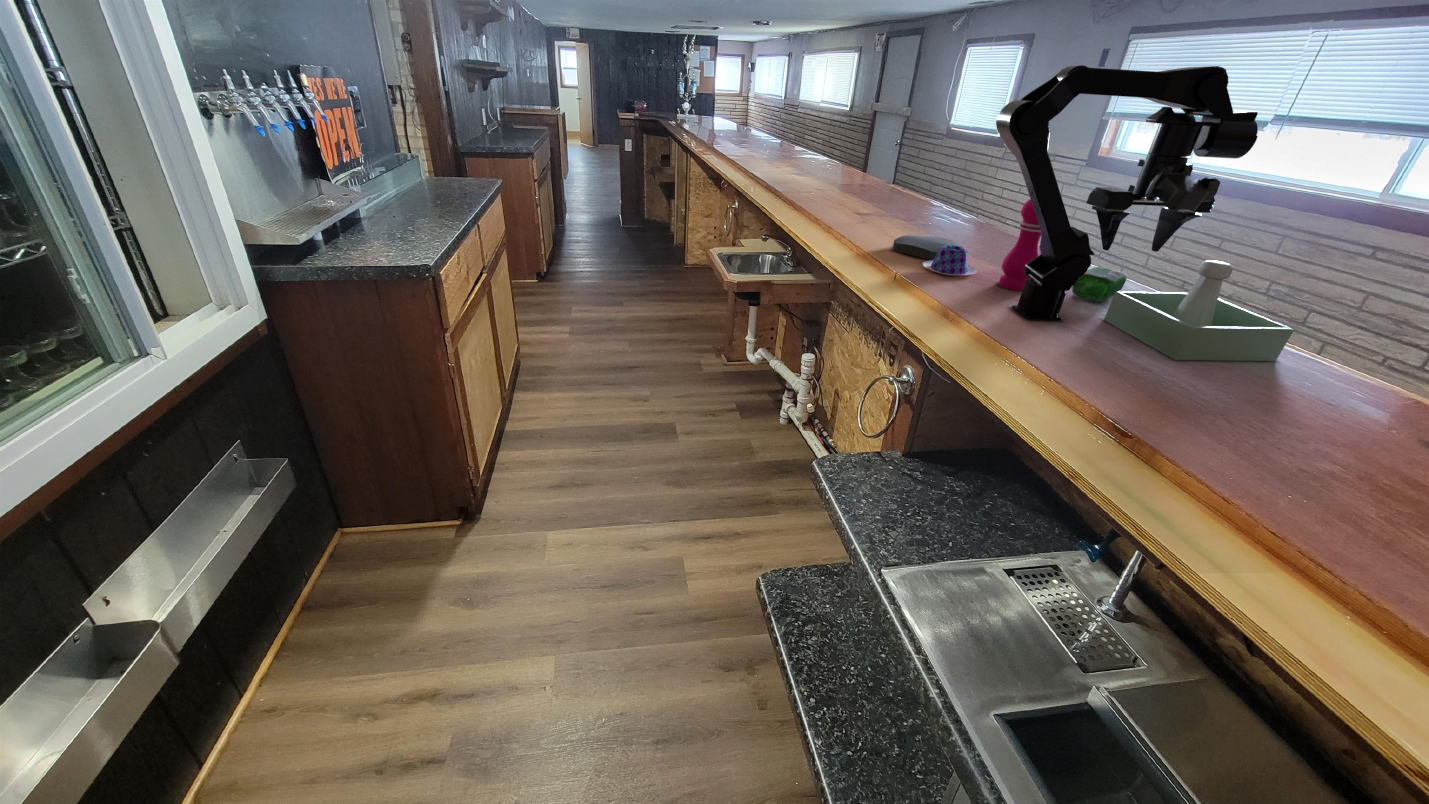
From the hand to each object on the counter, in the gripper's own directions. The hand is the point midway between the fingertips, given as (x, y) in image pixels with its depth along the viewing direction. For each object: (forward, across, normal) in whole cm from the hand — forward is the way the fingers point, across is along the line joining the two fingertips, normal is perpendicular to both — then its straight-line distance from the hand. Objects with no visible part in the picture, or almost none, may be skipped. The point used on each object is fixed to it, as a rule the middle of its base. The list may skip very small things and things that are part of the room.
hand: (1130, 250), depth 100 cm
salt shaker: (+13, +9, -9) cm, 18 cm away
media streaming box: (+13, -16, +46) cm, 51 cm away
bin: (+13, +9, -9) cm, 18 cm away
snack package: (+13, +8, +14) cm, 21 cm away
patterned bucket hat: (+13, -17, +30) cm, 37 cm away
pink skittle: (+13, -7, +19) cm, 24 cm away
